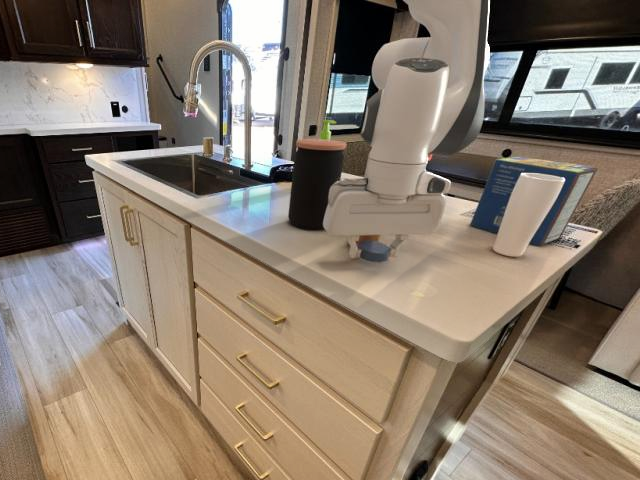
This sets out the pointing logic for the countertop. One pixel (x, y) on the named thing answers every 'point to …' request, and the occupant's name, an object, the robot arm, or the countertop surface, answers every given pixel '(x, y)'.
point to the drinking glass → (526, 211)
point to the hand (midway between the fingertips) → (372, 256)
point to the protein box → (503, 185)
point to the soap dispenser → (326, 130)
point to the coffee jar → (314, 180)
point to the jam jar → (368, 238)
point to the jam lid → (374, 251)
